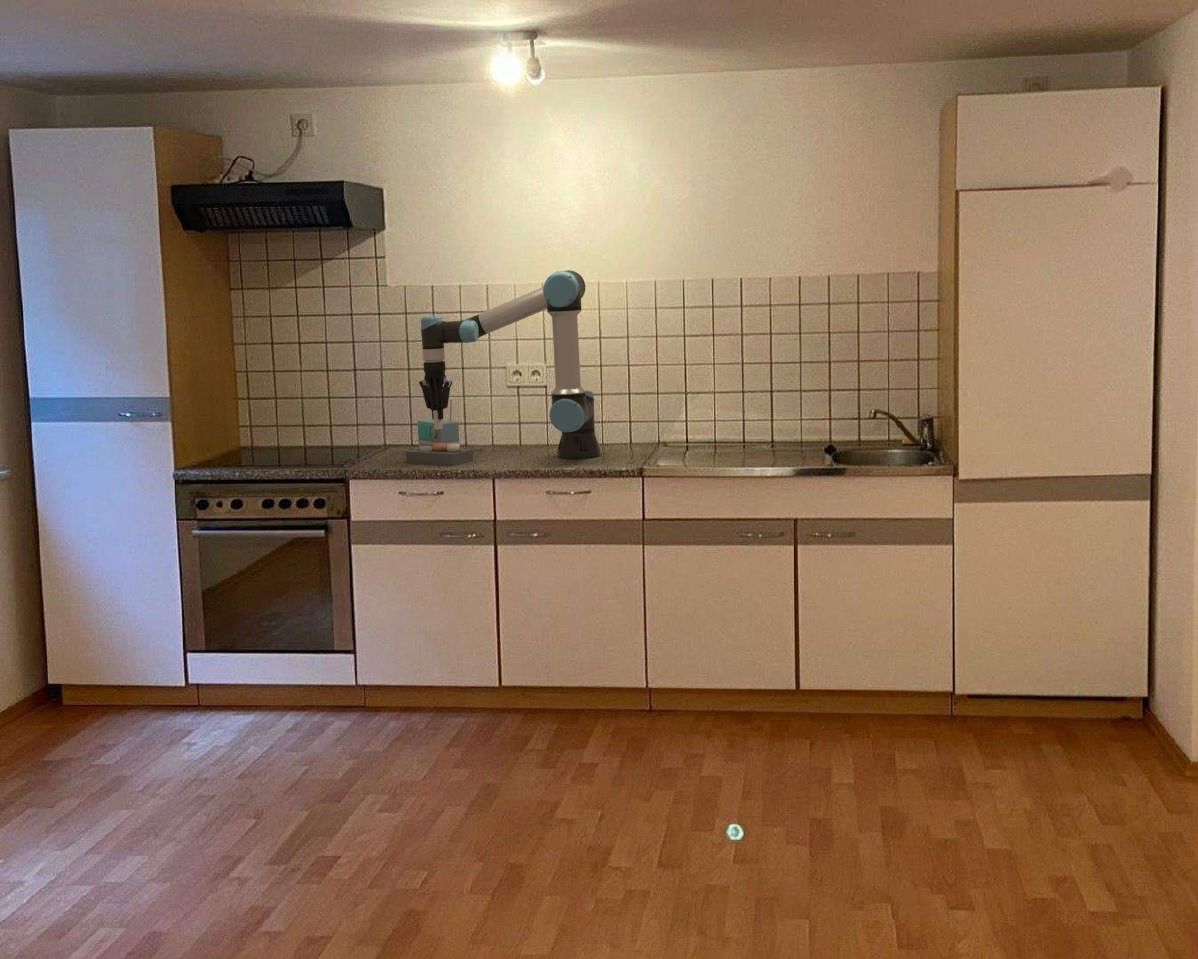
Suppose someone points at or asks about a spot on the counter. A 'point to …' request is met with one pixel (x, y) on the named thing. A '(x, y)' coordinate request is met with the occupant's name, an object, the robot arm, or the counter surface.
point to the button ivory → (453, 447)
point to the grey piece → (439, 457)
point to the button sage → (425, 448)
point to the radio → (437, 432)
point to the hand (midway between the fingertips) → (438, 428)
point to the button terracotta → (439, 446)
